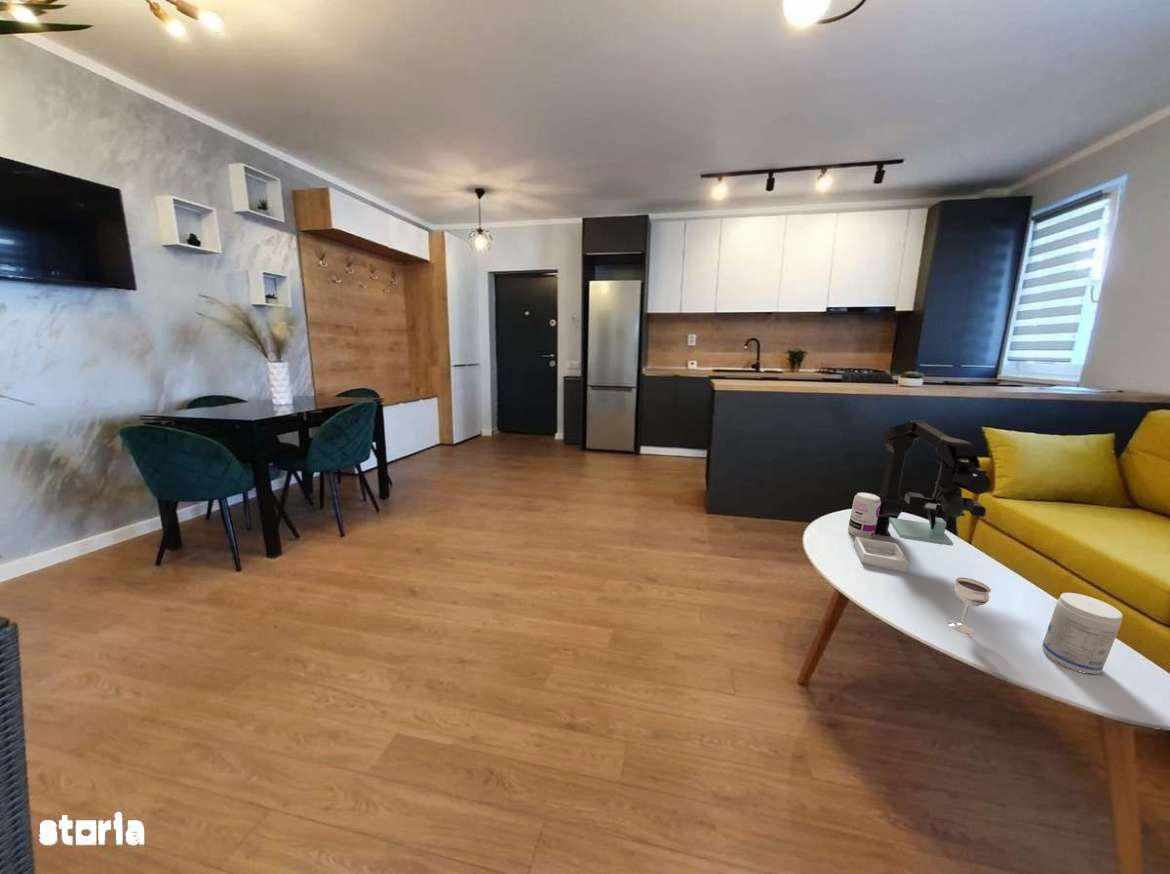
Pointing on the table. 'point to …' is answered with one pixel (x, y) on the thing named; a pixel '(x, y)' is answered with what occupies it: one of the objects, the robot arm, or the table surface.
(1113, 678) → the table surface
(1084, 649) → the supplement tub
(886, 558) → the white shallow square tray
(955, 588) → the wineglass
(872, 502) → the supplement can
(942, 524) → the lid
